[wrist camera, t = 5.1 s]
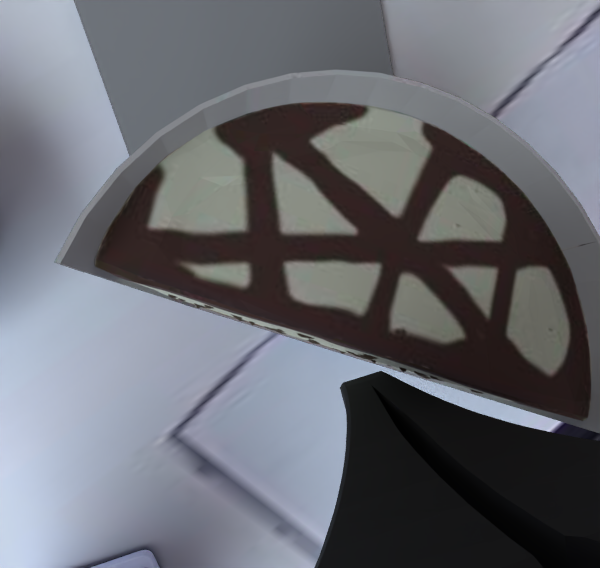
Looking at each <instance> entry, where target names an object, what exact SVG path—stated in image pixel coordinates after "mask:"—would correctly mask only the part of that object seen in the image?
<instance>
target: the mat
mask: <svg viewBox="0 0 600 568" xmlns="http://www.w3.org/2000/svg"><path fill="white" fill-rule="evenodd" d="M74 2H75V5H76V8H77V10H78V13H79V16H80V19H81V22H82V24H83V27H84V30H85V33H86V36H87V38H88V41H89V44H90V47H91V50H92V52H93V55H94V58H95V61H96V63H97V66H98V69H99V72H100V75H101V77H102V80H103V83H104V86H105V89H106V91H107V94H108V97H109V100H110V103H111V105H112V108H113V111H114V114H115V117H116V119H117V122H118V125H119V128H120V130H121V133H122V136H123V139H124V142H125V144H126V147H127V150H128V153H129V156H131V155H132V154H133V153H134V152H135V151H136V150H138V149H139V148H140V147H141V146H142V145H143V144H144V143H145V142H146V141H147V140H149V139H150V138H151V137H152V136H153V135H154V134H155V133H156V132H158V131H159V130H161V129H162V128H164V127H165V126H167V125H169V124H170V123H172V122H173V121H175V120H176V119H178V118H179V117H181V116H183V115H184V114H186V113H187V112H189V111H190V110H192V109H193V108H195V107H196V106H198V105H200V104H202V103H204V102H206V101H209V100H211V99H213V98H216V97H218V96H220V95H223V94H225V93H227V92H229V91H232V90H234V89H236V88H239V87H241V86H243V85H246V84H250V83H254V82H258V81H262V80H266V79H270V78H274V77H278V76H282V75H286V74H290V73H301V72H313V71H325V70H349V71H363V72H376V73H383V74H387V75H391V76H393V71H392V65H391V60H390V54H389V49H388V43H387V37H386V32H385V26H384V21H383V15H382V9H381V4H380V0H74Z"/></svg>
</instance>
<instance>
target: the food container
mask: <svg viewBox="0 0 600 568" xmlns="http://www.w3.org/2000/svg"><path fill="white" fill-rule="evenodd" d="M55 263H57V264H60V265H63V266H66V267H69V268H72V269H75V270H79V271H82V272H86V273H89V274H92V275H95V276H98V277H101V278H104V279H107V280H110V281H114V282H117V283H120V284H123V285H126V286H129V287H132V288H135V289H138V290H141V291H144V292H148V293H151V294H154V295H157V296H160V297H163V298H166V299H169V300H172V301H175V302H178V303H182V304H185V305H188V306H191V307H194V308H197V309H200V310H204V311H207V312H210V313H213V314H216V315H220V316H223V317H226V318H229V319H232V320H236V321H239V322H242V323H245V324H249V325H252V326H255V327H258V328H261V329H265V330H268V331H271V332H274V333H277V334H281V335H284V336H287V337H290V338H293V339H297V340H300V341H303V342H306V343H309V344H313V345H316V346H319V347H322V348H325V349H329V350H332V351H335V352H338V353H341V354H345V355H348V356H351V357H354V358H357V359H361V360H364V361H367V362H370V363H373V364H377V365H380V366H383V367H386V368H390V369H393V370H396V371H399V372H403V373H406V374H409V375H412V376H416V377H419V378H422V379H425V380H429V381H432V382H435V383H438V384H442V385H445V386H448V387H451V388H455V389H458V390H461V391H464V392H468V393H471V394H474V395H477V396H481V397H484V398H487V399H490V400H494V401H497V402H500V403H503V404H507V405H510V406H513V407H516V408H520V409H523V410H526V411H529V412H533V413H536V414H539V415H542V416H546V417H549V418H552V419H555V420H558V421H561V422H565V423H568V424H571V425H574V426H578V427H581V428H584V429H588V430H591V431H594V432H597V433H600V236H599V235H598V233H597V231H596V229H595V228H594V226H593V224H592V222H591V221H590V219H589V217H588V216H587V214H586V212H585V210H584V209H583V207H582V205H581V204H580V202H579V201H578V200H577V198H576V197H575V196H574V194H573V193H572V192H571V190H570V189H569V188H568V187H567V185H566V184H565V183H564V181H563V180H562V179H561V177H560V176H559V175H558V173H557V172H556V171H555V170H554V169H553V168H552V167H551V166H550V165H549V164H548V163H547V162H546V161H545V160H544V159H543V158H542V157H541V156H540V155H539V154H538V153H537V152H536V151H535V150H534V149H533V148H532V147H531V146H530V145H529V144H528V143H527V142H526V141H525V140H523V139H522V138H521V137H519V136H518V135H517V134H516V133H514V132H513V131H512V130H510V129H509V128H508V127H506V126H505V125H504V124H503V123H501V122H500V121H499V120H497V119H496V118H495V117H493V116H491V115H489V114H488V113H486V112H484V111H482V110H481V109H479V108H477V107H475V106H474V105H472V104H470V103H468V102H467V101H465V100H463V99H461V98H459V97H457V96H454V95H452V94H449V93H447V92H444V91H442V90H439V89H437V88H434V87H432V86H429V85H427V84H424V83H421V82H417V81H413V80H409V79H404V78H400V77H396V76H391V75H387V74H383V73H376V72H363V71H349V70H325V71H313V72H301V73H290V74H286V75H282V76H278V77H274V78H270V79H266V80H262V81H258V82H254V83H250V84H246V85H243V86H241V87H239V88H236V89H234V90H232V91H229V92H227V93H225V94H223V95H220V96H218V97H216V98H213V99H211V100H209V101H206V102H204V103H202V104H200V105H198V106H196V107H195V108H193V109H192V110H190V111H189V112H187V113H186V114H184V115H183V116H181V117H179V118H178V119H176V120H175V121H173V122H172V123H170V124H169V125H167V126H165V127H164V128H162V129H161V130H159V131H158V132H156V133H155V134H154V135H153V136H152V137H151V138H150V139H149V140H147V141H146V142H145V143H144V144H143V145H142V146H141V147H140V148H139V149H138V150H136V151H135V152H134V153H133V154H132V155H131V156H130V157H129V158H128V159H127V160H126V161H124V162H123V163H122V164H121V165H120V166H119V167H118V168H117V169H116V170H115V171H114V172H113V174H112V175H111V176H110V177H109V179H108V180H107V181H106V183H105V184H104V185H103V186H102V188H101V189H100V190H99V191H98V193H97V194H96V195H95V196H94V198H93V199H92V200H91V202H90V203H89V204H88V205H87V207H86V208H85V209H84V210H83V212H82V213H81V214H80V216H79V218H78V220H77V221H76V223H75V225H74V227H73V229H72V231H71V232H70V234H69V236H68V238H67V240H66V241H65V243H64V245H63V247H62V249H61V251H60V252H59V254H58V256H57V258H56V260H55Z"/></svg>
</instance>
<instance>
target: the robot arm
mask: <svg viewBox="0 0 600 568" xmlns="http://www.w3.org/2000/svg"><path fill="white" fill-rule="evenodd" d="M340 389H341V393H342V397H343V401H344V404H345V408H346V414H347V437H346V452H345V461H344V468H343V474H342V479H341V484H340V489H339V493H338V498H337V502H336V506H335V510H334V513H333V517H332V520H331V523H330V526H329V529H328V532H327V535H326V538H325V542H324V545H323V548H322V550H321V553H320V556H319V558H318V561H317V563H316V566H315V568H600V441H596V440H589V439H583V438H577V437H572V436H566V435H561V434H556V433H551V432H547V431H542V430H538V429H533V428H529V427H525V426H521V425H517V424H513V423H509V422H506V421H502V420H499V419H496V418H492V417H489V416H486V415H482V414H479V413H476V412H473V411H470V410H467V409H465V408H462V407H460V406H457V405H454V404H452V403H449V402H447V401H444V400H442V399H439V398H437V397H435V396H432V395H430V394H428V393H426V392H424V391H421V390H419V389H417V388H415V387H413V386H411V385H409V384H407V383H405V382H403V381H401V380H399V379H397V378H395V377H393V376H391V375H389V374H387V373H384V372H382V371H379V372H376V373H373V374H370V375H367V376H363V377H360V378H357V379H354V380H351V381H347V382H344V383H343V384H342V385H341V387H340ZM146 567H148V568H159V566H158V564H157V561H156V559H155V557H154V555H153V553H152V552H151V551H149V550H141V551H138V552H135V553H132V554H129V555H126V556H123V557H120V558H117V559H114V560H111V561H108V562H105V563H102V564H99V565H97V566H94V567H91V568H146Z"/></svg>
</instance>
